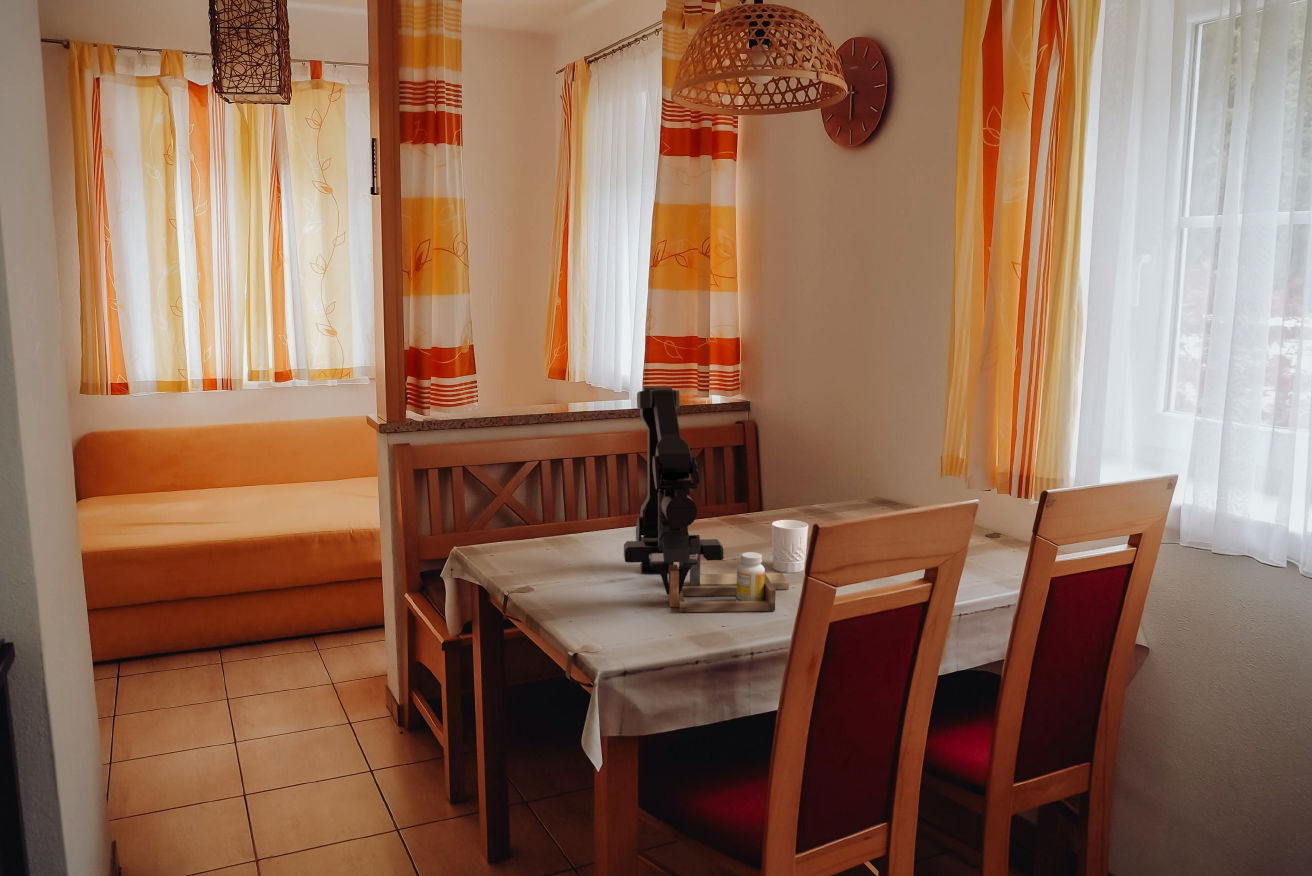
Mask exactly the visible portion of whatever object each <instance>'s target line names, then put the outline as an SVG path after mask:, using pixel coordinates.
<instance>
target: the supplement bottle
mask: <svg viewBox="0 0 1312 876" xmlns="http://www.w3.org/2000/svg"><path fill="white" fill-rule="evenodd" d="M740 562H741V563H740V564H739V565H738V566H737V568H736V574H737V592H736V595H735V596H736V597H735V598H736V599H735V601H764V581H765V573H766V570H765V569H766V568H765V567H764V565H763V564H762V562H763V555H762V554H760V553H758V552H750V551H749V552H748V551H746V552H743V553H741V555H740Z"/></svg>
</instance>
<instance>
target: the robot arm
mask: <svg viewBox="0 0 1312 876" xmlns="http://www.w3.org/2000/svg"><path fill="white" fill-rule="evenodd" d="M636 406H637V407H636V409H637V410H639V417H640V419H641V420H642V422H643V423H644V425H645V427H646V428H647V431H646V433H647V434H646V435H647V438H646V439H647V441H646V442H647V496H646V499H645V500H643V503H642V504H641V506H640V508H639V509H640V512H639V513H640V515H639V516H638V517H637V519H636V520H637V521H636V526H635V527H636V528H635V540H634V541H633V540H631V541H629V540H627V541H626V542H625V543H624V544H623V556H624V557H623V558H624V562H625V563H627V564H630V563H640V565H639V566H640V571H641V574H645V575H648V574H651V575H652V574H657V575H660V577H661V580H662V583H663V587H664V589H665V593H666V595H667V596H668V595H669V575H668V574H669V565H675V563H678V569H679V594H680V593H681V590H682V587H683V586H684V583H685V581H686V579H687V575H688V573H689V572H690V568H691V567H692V566H693V565H697V564H698V561H697V557H698V555H700V556H701V555H702V557H703V558H704V559H705V560H706V561H708V562H710V561H723V560H724V546H723V545H722V544H721V541H720V540H719V539H717V538H714V539H713V538H711V539H710V538H708V539H701V538H700V535H699V534H691V535H690V534H689V526H690V525H692V524H693V523H694V522H695V520H696V518H697V516H698V507H697V506H696V503H695V502H694V501H693V499H692V498H691V496H690V490H698V484H699V483H700V477H699V469H698V463H697V461H696V460H695V458H696V457H695V456H694V455H692V452H691V449H690V445H689V443H687V441H685V440H684V439H682V436H681V431H680V426H679V425H680V424H679V419H678V413H677V409H680V391H679V390H676V389H673V388H672V386H643V387H642V390H639V391H638V392H637V394H636Z"/></svg>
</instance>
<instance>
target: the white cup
mask: <svg viewBox="0 0 1312 876" xmlns="http://www.w3.org/2000/svg"><path fill="white" fill-rule="evenodd" d="M808 535H809V524H808V523H807V522H804V521H802V520H801V521H800V520H796V519H781V520H776V521H775V520H774V521H773V522H772V523H771V548H772V549H771V550H772V551H771V552H772V567H773V569H774V570H775V571H777V572H780V573H787V574H795V573H801V572H803V571H804V570H805V563H806V557H807V546H808Z"/></svg>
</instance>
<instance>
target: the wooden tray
mask: <svg viewBox="0 0 1312 876" xmlns="http://www.w3.org/2000/svg"><path fill="white" fill-rule="evenodd" d="M668 583H669V595H667V597H668V598H667V599H668V603H669V607H670V608H672V607H676V608H677V607H678V608H679V609H678V610H679V612H680V613H697V612H698V613H705V612H706V613H708V612H710V613H711V612H713V613H716V612H719V613H720V612H721V613H722V612H775V611H776V597H777V596H776V594H777V593H776V592H777V591H776V590H777V589H775V588H774V587H773V585H772V584H771V582H770V580H769V579H768V577H767V575H766V574H765V581H764V601H736V600H734V601H733V600H730V601H729V600H728V601H727V600H725V601H722V600H721V601H717V600H715V601H686V600H685V597H706V596H707V597H710V596H711V597H714V596H715V597H716V596H717V597H718V596H725V597H726V596H736V592H737V586H691V585H690V586H689V585H688V586H684V585H683V587H682V590H681V593H680V594H679V565H678V564H674V565H669V573H668Z"/></svg>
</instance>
